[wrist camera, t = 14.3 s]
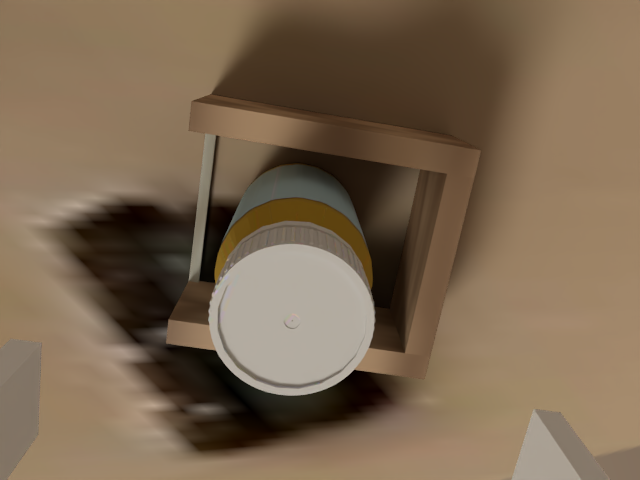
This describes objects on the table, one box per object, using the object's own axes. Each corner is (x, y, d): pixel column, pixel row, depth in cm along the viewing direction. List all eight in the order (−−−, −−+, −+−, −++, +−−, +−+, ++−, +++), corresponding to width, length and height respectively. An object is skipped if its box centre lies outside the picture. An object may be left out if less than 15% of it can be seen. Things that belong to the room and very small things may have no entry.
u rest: (187, 299, 37) (166, 343, 32) (210, 94, 34) (191, 101, 28) (406, 331, 38) (424, 379, 33) (451, 135, 35) (481, 150, 29)
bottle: (327, 142, 35) (343, 200, 20) (370, 246, 37) (414, 366, 22) (219, 189, 35) (162, 276, 21) (268, 288, 37) (246, 431, 23)
